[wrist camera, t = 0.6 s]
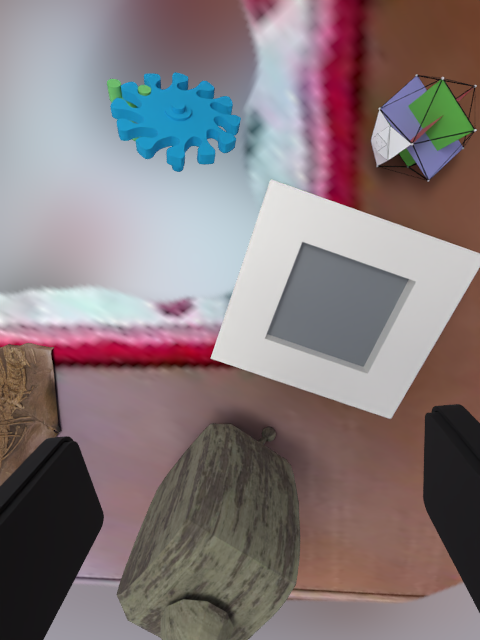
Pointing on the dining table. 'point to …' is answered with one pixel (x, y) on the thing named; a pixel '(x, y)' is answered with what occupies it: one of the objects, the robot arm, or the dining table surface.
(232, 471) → the tabletop clock
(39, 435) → the wooden fragment
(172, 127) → the gear
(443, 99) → the geometric puzzle
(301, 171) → the dining table surface
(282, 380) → the square picture frame
